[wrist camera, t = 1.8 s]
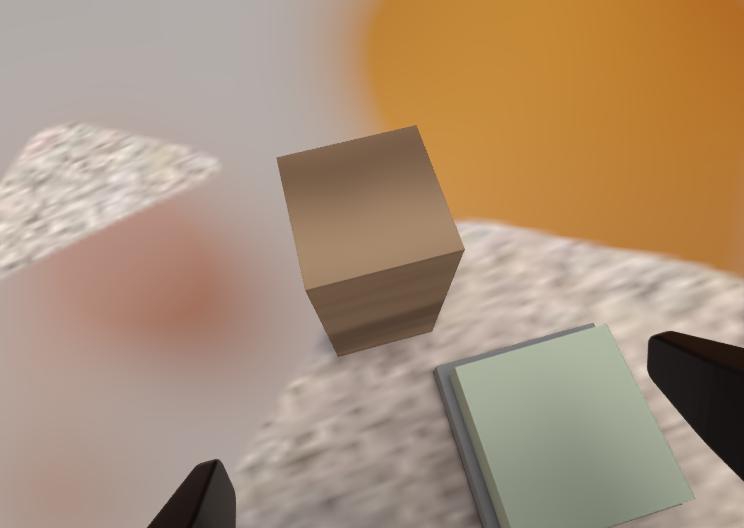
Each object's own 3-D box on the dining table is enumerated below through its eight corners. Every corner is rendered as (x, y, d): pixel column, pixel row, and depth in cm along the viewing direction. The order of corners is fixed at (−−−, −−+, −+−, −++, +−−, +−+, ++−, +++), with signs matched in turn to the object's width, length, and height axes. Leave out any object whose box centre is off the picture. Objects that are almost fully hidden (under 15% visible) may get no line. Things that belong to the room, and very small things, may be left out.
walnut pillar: (431, 331, 22) (464, 249, 13) (338, 356, 22) (305, 290, 13) (404, 247, 24) (416, 125, 15) (318, 269, 24) (276, 157, 15)
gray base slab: (654, 498, 20) (682, 504, 18) (488, 551, 19) (499, 562, 17) (576, 333, 23) (593, 322, 21) (432, 373, 22) (436, 366, 20)
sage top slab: (664, 493, 18) (696, 498, 16) (506, 545, 17) (520, 556, 16) (586, 334, 21) (606, 323, 19) (448, 374, 20) (455, 367, 18)
